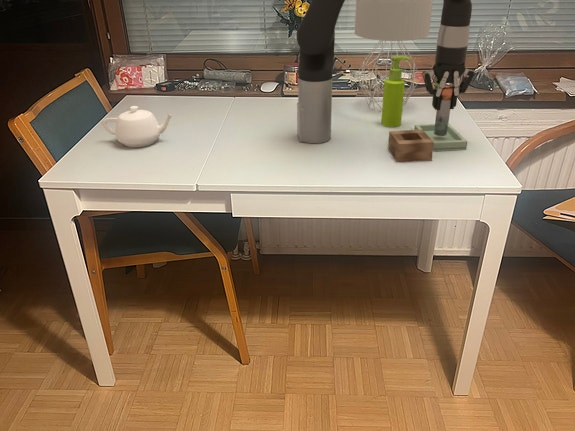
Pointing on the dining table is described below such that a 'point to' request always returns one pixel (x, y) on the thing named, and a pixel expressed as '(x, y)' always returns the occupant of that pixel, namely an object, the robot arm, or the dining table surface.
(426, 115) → the dining table surface
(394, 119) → the soap dispenser
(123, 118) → the teapot
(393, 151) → the hitch block
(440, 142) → the tray
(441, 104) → the grey and copper cylinder
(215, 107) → the dining table surface
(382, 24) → the table lamp
